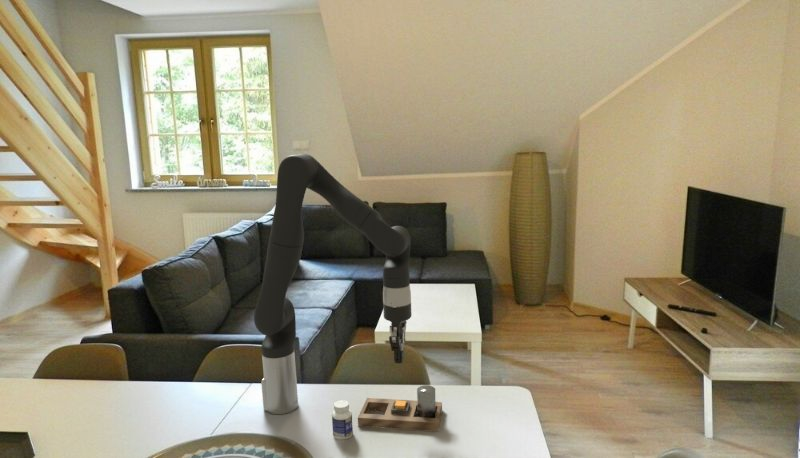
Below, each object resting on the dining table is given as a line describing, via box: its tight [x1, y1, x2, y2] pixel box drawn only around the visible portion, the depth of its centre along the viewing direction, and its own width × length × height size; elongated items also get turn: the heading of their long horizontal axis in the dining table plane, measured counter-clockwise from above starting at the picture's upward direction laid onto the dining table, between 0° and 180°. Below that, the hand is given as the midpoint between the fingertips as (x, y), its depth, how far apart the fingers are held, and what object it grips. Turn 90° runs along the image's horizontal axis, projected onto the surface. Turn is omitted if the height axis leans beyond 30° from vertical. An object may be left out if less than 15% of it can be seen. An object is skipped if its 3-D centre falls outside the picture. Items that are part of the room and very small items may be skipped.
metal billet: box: [416, 384, 436, 418], centre depth 148 cm, size 5×5×9 cm
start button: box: [395, 399, 406, 409], centre depth 150 cm, size 3×3×1 cm
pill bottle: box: [331, 399, 354, 441], centre depth 142 cm, size 5×5×9 cm
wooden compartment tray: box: [357, 397, 443, 432], centre depth 150 cm, size 22×11×4 cm, turn 80°
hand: (399, 361), depth 147 cm, fingers closed
